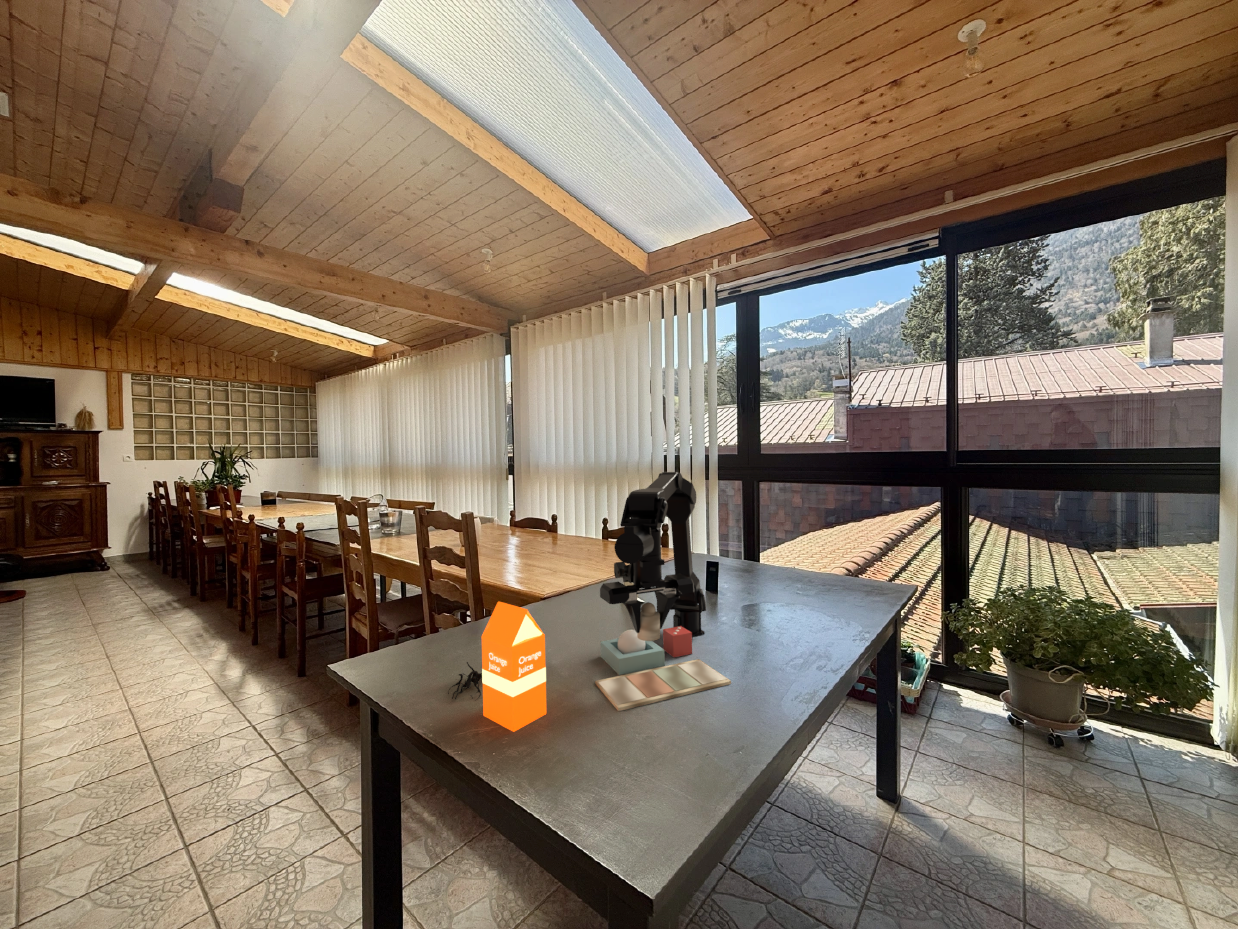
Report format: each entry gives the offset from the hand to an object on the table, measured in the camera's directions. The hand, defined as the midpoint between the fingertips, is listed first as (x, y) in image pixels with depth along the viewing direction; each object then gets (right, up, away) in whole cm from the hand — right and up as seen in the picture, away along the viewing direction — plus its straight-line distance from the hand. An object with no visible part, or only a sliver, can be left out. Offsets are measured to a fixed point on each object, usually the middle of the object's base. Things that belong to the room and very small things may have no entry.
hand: (648, 630), depth 98 cm
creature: (-36, -13, -1) cm, 38 cm away
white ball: (-3, -11, +13) cm, 17 cm away
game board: (+3, -11, +1) cm, 12 cm away
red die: (+8, -11, +18) cm, 22 cm away
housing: (-3, -11, +13) cm, 17 cm away
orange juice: (-25, -12, -10) cm, 29 cm away
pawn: (0, -1, 0) cm, 1 cm away
